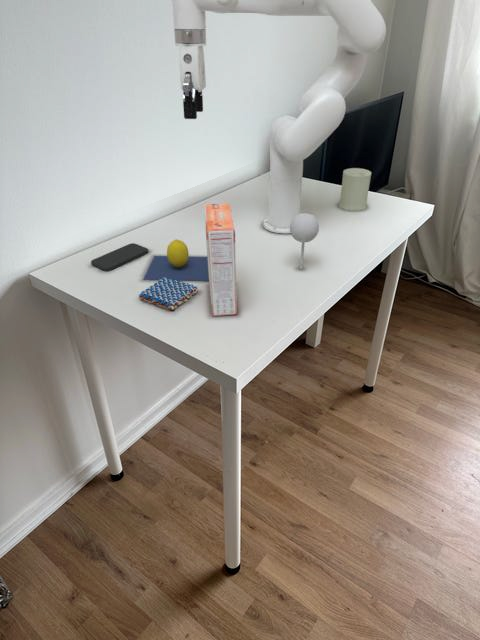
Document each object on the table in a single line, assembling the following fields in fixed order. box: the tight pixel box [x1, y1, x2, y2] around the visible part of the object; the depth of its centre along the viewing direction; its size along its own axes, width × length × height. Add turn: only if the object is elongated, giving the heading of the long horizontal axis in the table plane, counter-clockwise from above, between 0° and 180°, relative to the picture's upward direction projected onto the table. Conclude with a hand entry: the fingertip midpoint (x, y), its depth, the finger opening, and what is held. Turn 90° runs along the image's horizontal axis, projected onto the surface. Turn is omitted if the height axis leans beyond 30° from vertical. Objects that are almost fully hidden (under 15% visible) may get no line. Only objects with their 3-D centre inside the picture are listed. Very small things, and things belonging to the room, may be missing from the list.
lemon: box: [166, 238, 190, 268], centre depth 116 cm, size 6×6×8 cm
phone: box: [90, 243, 149, 272], centre depth 123 cm, size 7×1×15 cm
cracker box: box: [204, 203, 238, 317], centre depth 100 cm, size 14×6×21 cm, turn 5°
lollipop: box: [290, 212, 320, 270], centre depth 113 cm, size 7×7×15 cm
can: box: [338, 167, 372, 212], centre depth 151 cm, size 9×9×12 cm
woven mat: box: [138, 276, 198, 311], centre depth 107 cm, size 10×11×2 cm
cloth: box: [142, 255, 209, 282], centre depth 118 cm, size 18×13×1 cm
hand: (193, 115), depth 118 cm, fingers open, 9 cm apart
